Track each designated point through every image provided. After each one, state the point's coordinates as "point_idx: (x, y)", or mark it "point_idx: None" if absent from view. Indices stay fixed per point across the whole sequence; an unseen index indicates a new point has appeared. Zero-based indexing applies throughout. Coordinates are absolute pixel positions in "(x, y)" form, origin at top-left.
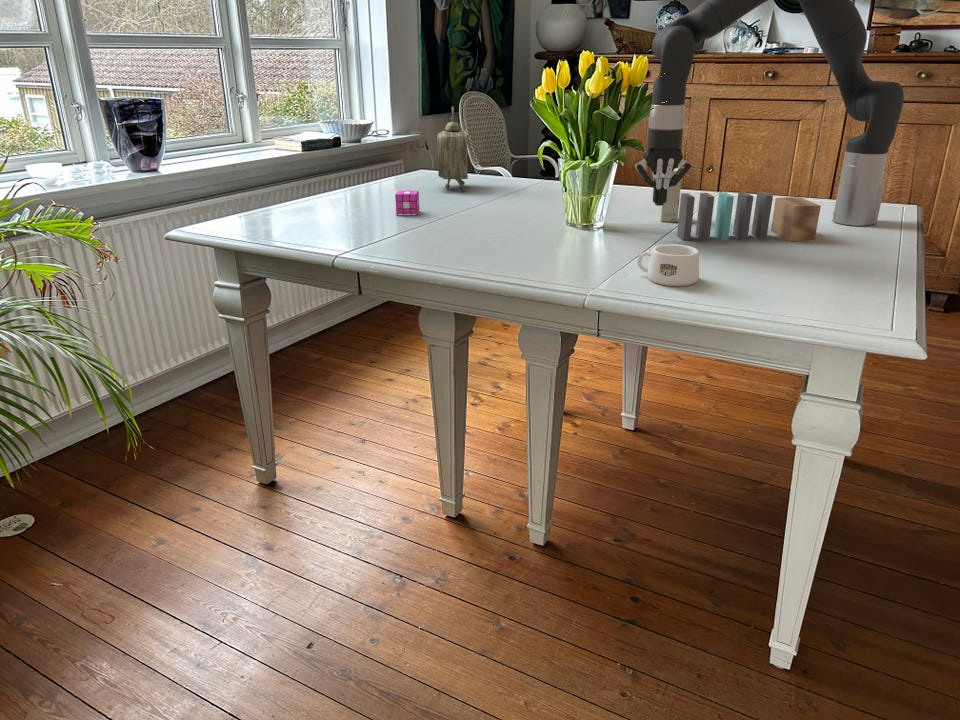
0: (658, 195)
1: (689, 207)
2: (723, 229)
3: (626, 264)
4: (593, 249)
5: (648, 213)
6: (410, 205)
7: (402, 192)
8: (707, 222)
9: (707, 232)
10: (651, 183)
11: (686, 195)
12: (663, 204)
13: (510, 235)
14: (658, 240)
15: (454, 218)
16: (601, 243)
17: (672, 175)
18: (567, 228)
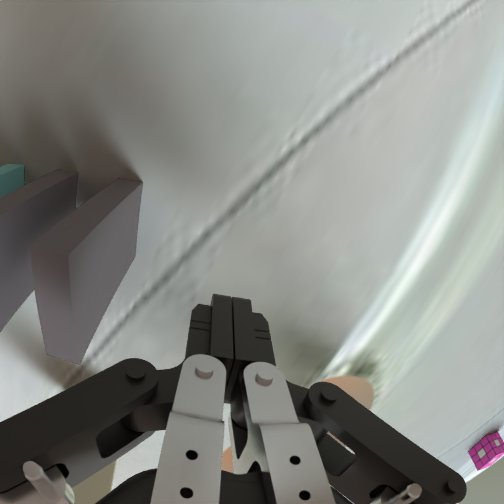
0: (252, 334)
1: (80, 226)
2: (2, 173)
3: (458, 12)
4: (469, 181)
5: (138, 444)
6: (494, 443)
7: (495, 459)
8: (34, 188)
9: (51, 177)
10: (330, 396)
11: (63, 308)
12: (213, 294)
13: (501, 341)
14: (230, 213)
15: (471, 429)
16: (422, 234)
17: (83, 497)
18: (392, 383)
